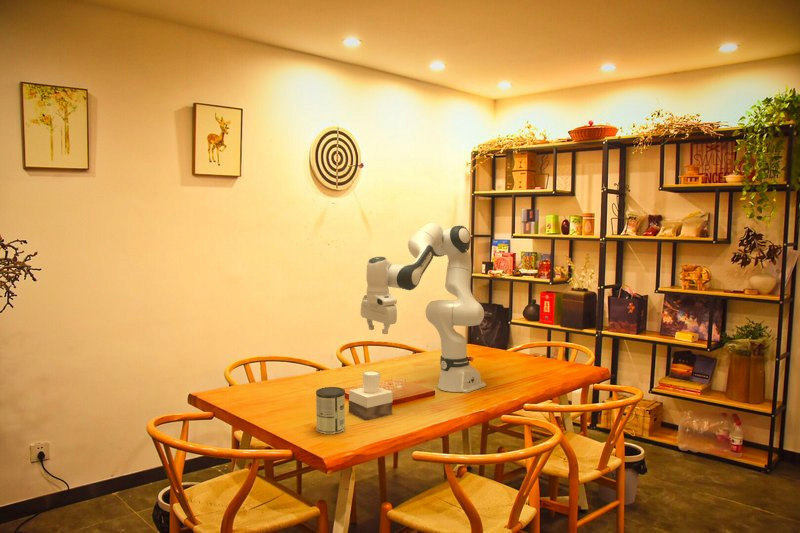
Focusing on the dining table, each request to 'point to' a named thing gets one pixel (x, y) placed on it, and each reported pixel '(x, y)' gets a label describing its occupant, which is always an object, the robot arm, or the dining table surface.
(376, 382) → the white cylinder
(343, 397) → the coffee can
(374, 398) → the cream top block
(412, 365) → the dining table surface
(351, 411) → the walnut base block
